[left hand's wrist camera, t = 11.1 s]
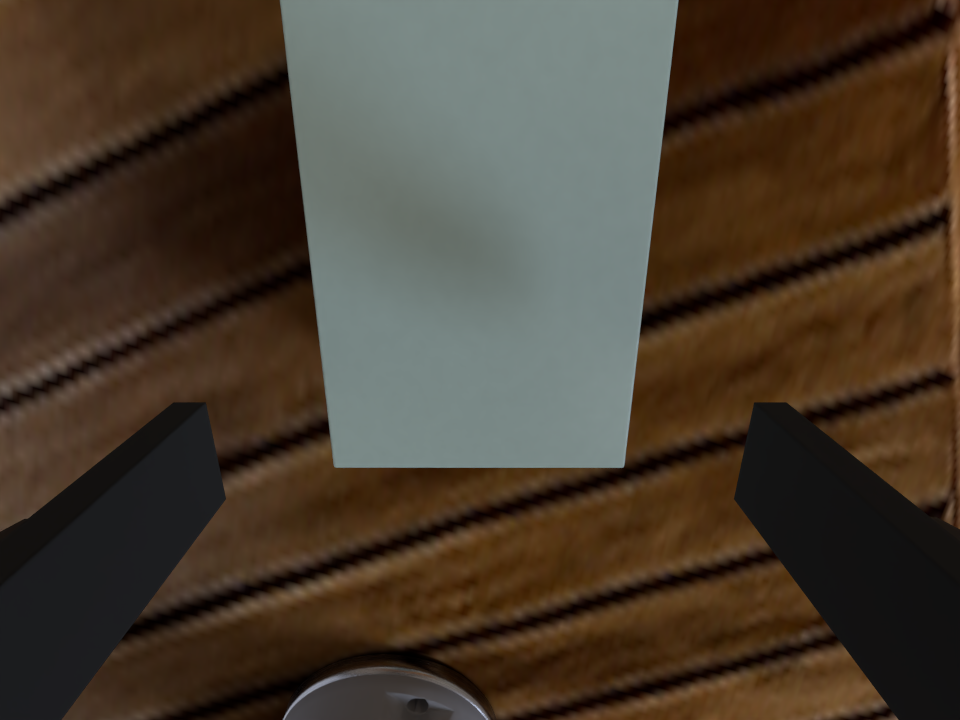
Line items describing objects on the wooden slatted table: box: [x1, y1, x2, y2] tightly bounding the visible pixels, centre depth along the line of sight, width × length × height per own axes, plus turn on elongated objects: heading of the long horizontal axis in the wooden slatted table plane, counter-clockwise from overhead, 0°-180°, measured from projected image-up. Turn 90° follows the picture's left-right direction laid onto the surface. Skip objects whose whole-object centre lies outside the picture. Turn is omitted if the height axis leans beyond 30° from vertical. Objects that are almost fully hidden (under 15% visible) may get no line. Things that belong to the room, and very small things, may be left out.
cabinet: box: [280, 0, 678, 468], centre depth 20 cm, size 19×10×10 cm, turn 0°
